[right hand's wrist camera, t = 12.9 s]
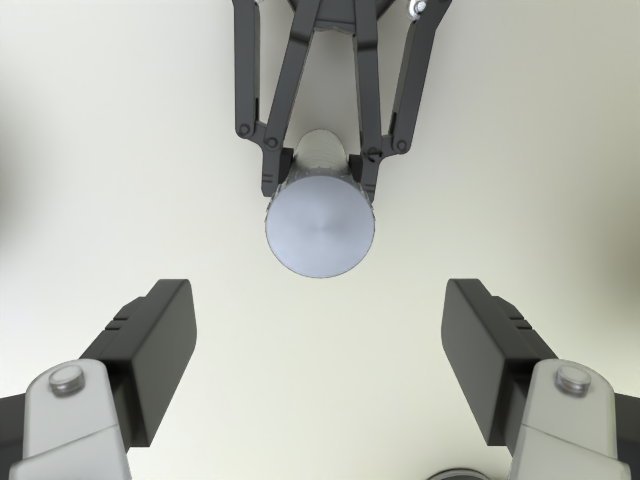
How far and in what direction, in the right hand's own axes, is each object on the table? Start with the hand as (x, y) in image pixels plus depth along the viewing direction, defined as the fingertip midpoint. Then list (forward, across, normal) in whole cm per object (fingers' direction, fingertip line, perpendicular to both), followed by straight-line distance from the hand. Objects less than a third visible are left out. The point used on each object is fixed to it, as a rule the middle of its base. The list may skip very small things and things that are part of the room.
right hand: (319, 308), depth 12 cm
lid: (+7, 0, 0) cm, 7 cm away
